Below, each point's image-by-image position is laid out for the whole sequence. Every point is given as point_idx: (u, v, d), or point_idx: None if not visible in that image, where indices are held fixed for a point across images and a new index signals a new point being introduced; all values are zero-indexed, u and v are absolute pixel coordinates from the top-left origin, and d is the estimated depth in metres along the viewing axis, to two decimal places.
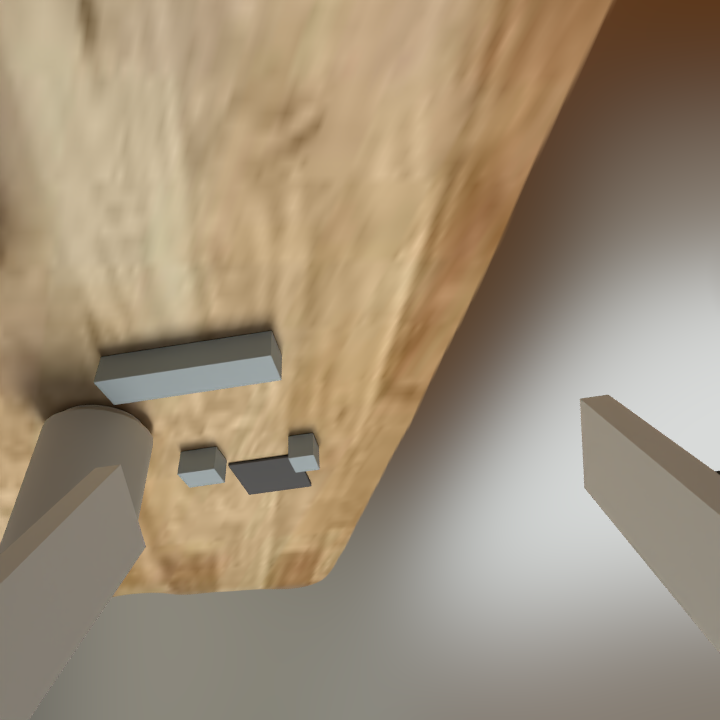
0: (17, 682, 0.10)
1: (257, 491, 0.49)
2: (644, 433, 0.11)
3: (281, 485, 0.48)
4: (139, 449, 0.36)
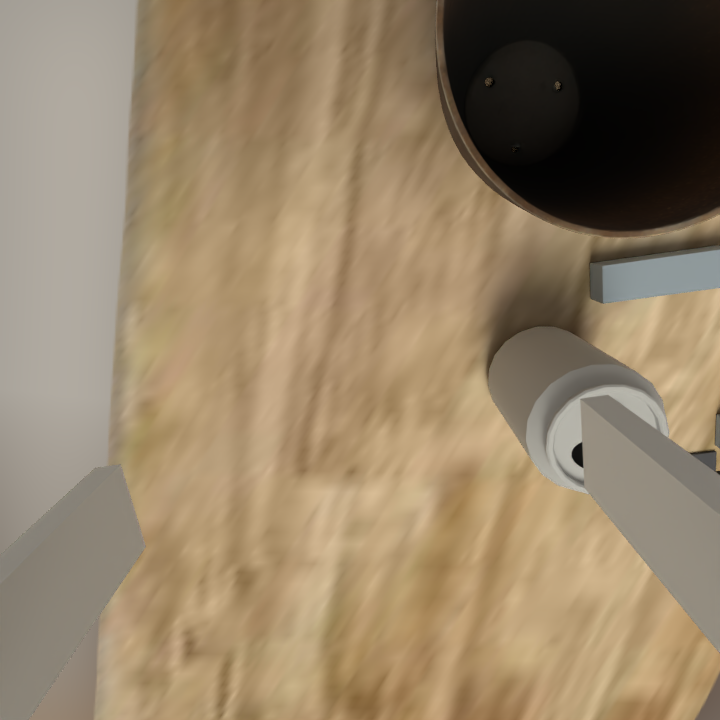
0: (17, 682, 0.10)
1: None
2: (644, 433, 0.11)
3: None
4: None
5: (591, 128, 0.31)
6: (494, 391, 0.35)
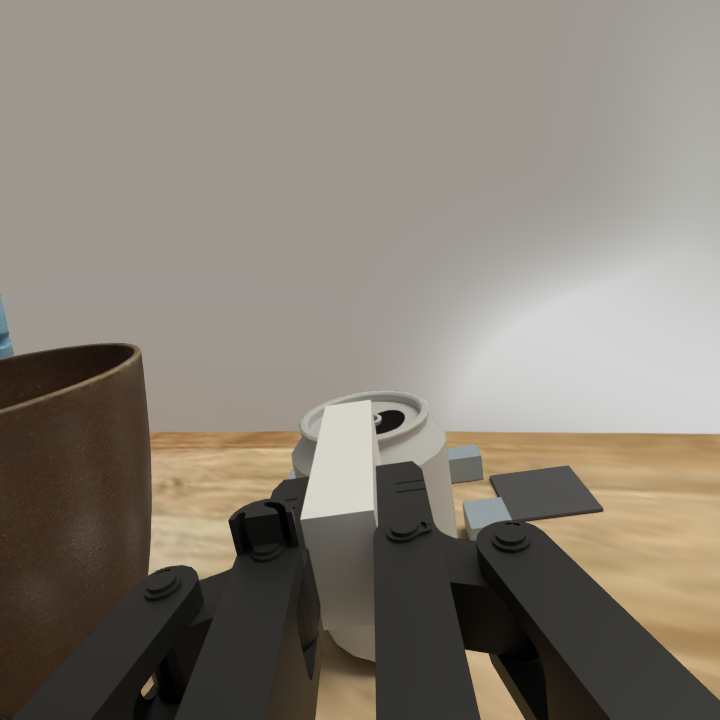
0: None
1: (592, 501, 0.34)
2: (360, 431, 0.14)
3: (569, 484, 0.37)
4: None
5: None
6: None
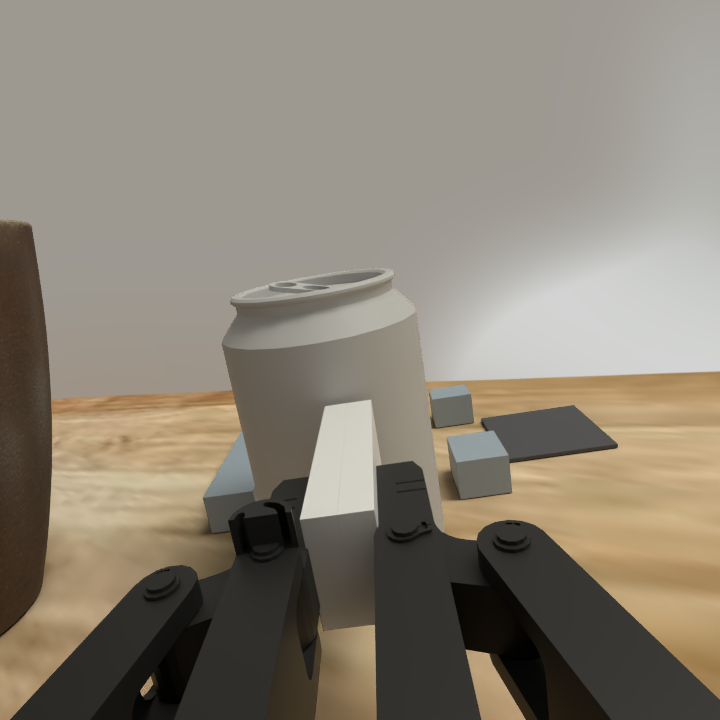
0: None
1: (603, 438, 0.28)
2: (360, 432, 0.14)
3: (575, 422, 0.31)
4: None
5: None
6: None
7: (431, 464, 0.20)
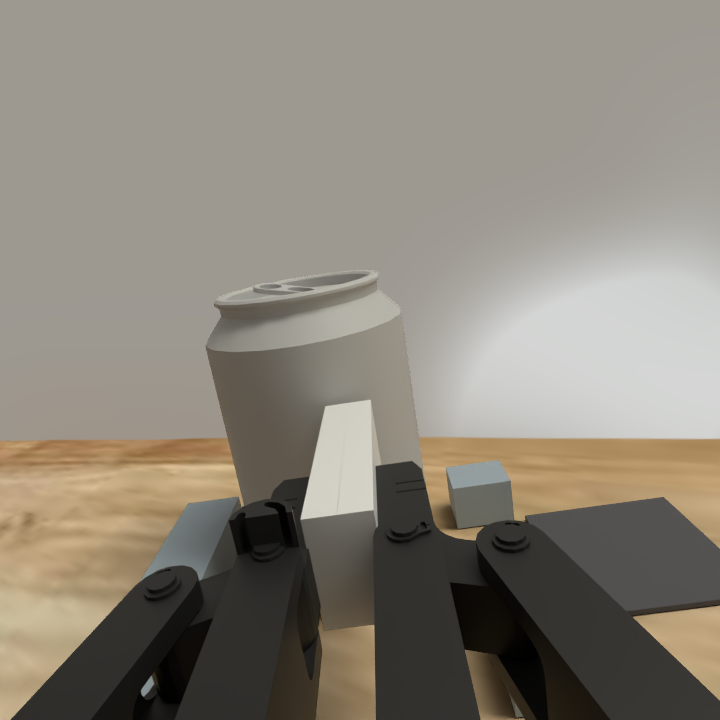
0: None
1: None
2: (360, 432, 0.14)
3: (678, 536, 0.20)
4: None
5: None
6: None
7: None
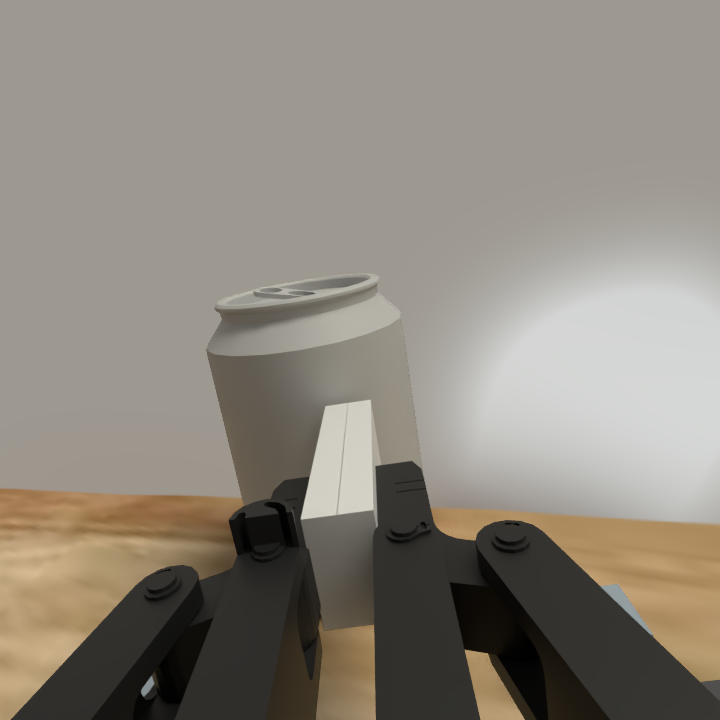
0: None
1: None
2: (359, 432, 0.14)
3: None
4: None
5: None
6: None
7: None
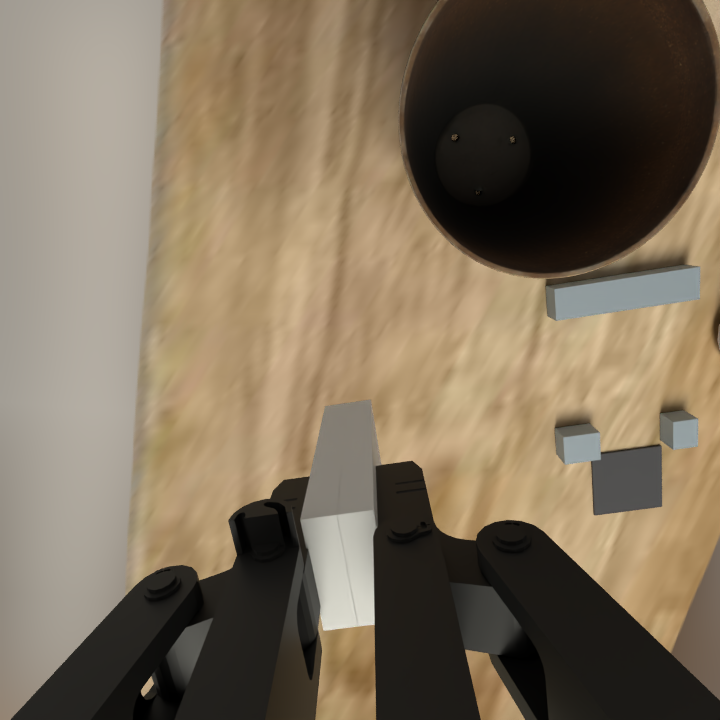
0: None
1: (604, 510, 0.47)
2: (360, 431, 0.14)
3: (631, 501, 0.46)
4: None
5: (540, 176, 0.38)
6: None
7: None
